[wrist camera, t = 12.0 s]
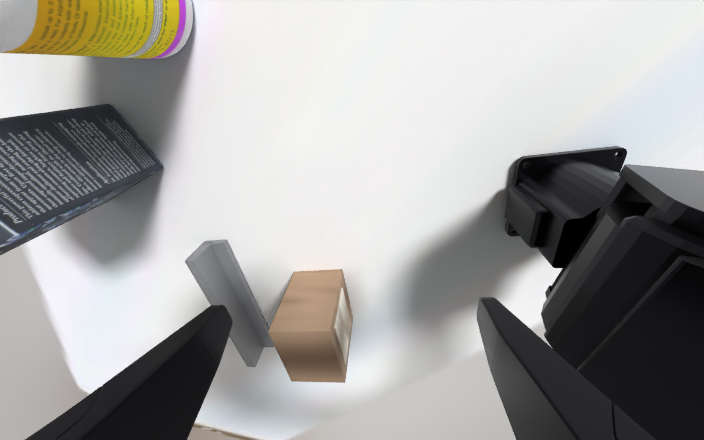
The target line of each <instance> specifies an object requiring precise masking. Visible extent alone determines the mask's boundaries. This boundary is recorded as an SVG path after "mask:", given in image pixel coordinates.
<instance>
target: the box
mask: <svg viewBox="0 0 704 440" xmlns="http://www.w3.org/2000/svg"><path fill="white" fill-rule="evenodd" d="M162 168H163V165H162V163H161V162H160V161H159V160H158V159H157V157H156V156H155V155H154V154H153V153H152V152H151V150H150V149H149V148H148V147H147V146H146V145H145V144H144V142H143V141H142V140H141V139H140V138H139V137H138V135H137V134H136V133H135V132H134V131H133V129H132V128H131V127H130V126H129V125H128V124H127V122H126V121H125V120H124V119H123V118H122V116H121V115H120V114H119V113H118V112H117V111H116V110H115V109H114V108H113V107H112V106H111V105H110V104H103V105H97V106H89V107H83V108H75V109H68V110H61V111H53V112H47V113H39V114H31V115H24V116H16V117H9V118H2V119H0V255H1V254H4V253H6V252H8V251H10V250H12V249H14V248H16V247H18V246H20V245H22V244H24V243H26V242H28V241H30V240H32V239H34V238H36V237H38V236H40V235H42V234H44V233H46V232H48V231H50V230H52V229H54V228H56V227H58V226H60V225H62V224H64V223H66V222H68V221H70V220H71V219H73V218H75V217H77V216H79V215H81V214H83V213H86V212H87V211H90V210H91V209H93V208H96V207H98V206H99V205H102V204H104V203H106V202H108V201H109V200H111V199H112V198H114V197H116V196H117V195H119V194H121V193H122V192H124V191H125V190H127V189H129V188H130V187H132V186H133V185H135V184H137V183H139V182H140V181H141V180H143V179H145V178H147V177H148V176H151V175H152V174H153V173H155V172H157V171H159V170H161V169H162Z"/></svg>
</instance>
